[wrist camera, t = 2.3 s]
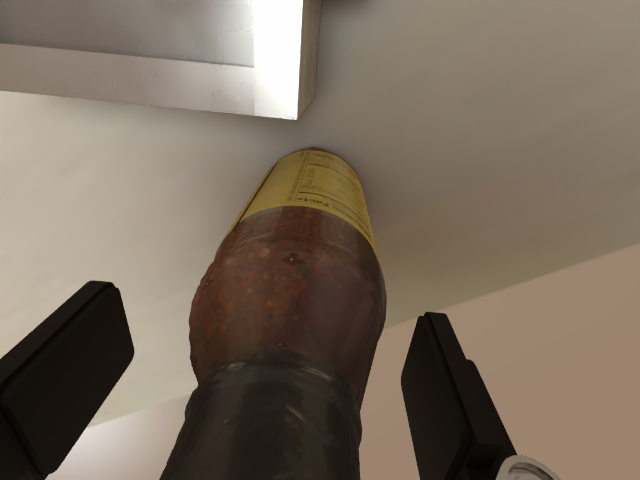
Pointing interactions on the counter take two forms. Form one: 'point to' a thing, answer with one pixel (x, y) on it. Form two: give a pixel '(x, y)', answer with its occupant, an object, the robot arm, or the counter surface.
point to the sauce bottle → (285, 332)
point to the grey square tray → (165, 52)
